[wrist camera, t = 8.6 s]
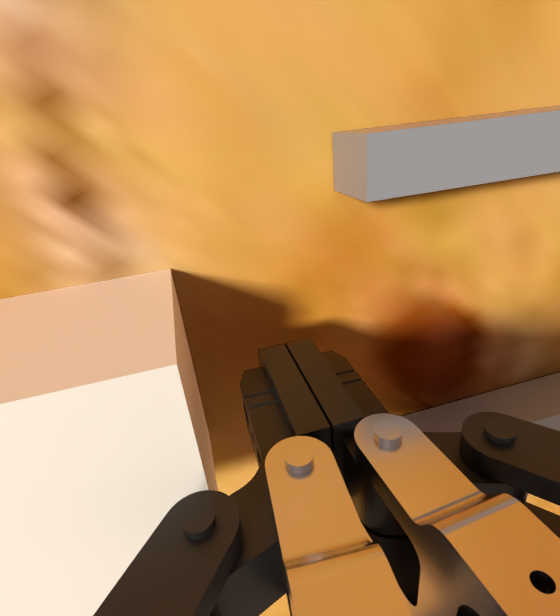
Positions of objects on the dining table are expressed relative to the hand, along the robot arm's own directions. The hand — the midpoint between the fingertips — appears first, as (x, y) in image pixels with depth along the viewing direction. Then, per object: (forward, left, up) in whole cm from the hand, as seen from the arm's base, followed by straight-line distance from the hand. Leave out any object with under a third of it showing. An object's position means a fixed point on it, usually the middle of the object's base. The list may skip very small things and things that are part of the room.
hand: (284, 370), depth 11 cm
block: (+5, 0, -2) cm, 5 cm away
